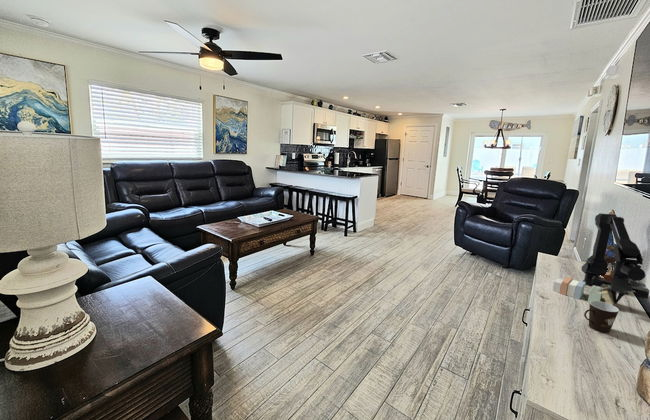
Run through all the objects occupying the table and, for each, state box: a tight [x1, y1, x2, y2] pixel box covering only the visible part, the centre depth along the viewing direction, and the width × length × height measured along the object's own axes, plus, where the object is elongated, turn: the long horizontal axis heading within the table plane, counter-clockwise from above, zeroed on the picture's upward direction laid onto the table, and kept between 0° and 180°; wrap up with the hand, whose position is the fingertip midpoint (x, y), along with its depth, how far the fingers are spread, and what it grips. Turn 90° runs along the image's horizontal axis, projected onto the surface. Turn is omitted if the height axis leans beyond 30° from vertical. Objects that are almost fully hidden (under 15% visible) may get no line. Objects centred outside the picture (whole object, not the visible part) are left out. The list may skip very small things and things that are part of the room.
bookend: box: [601, 286, 614, 306], centre depth 140 cm, size 8×4×6 cm, turn 131°
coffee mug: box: [583, 301, 620, 334], centre depth 120 cm, size 12×9×10 cm
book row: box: [552, 276, 586, 300], centre depth 151 cm, size 9×11×6 cm
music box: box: [603, 244, 616, 282], centre depth 168 cm, size 15×11×20 cm
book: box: [587, 285, 605, 304], centre depth 143 cm, size 9×4×6 cm, turn 131°
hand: (615, 303), depth 138 cm, fingers closed
